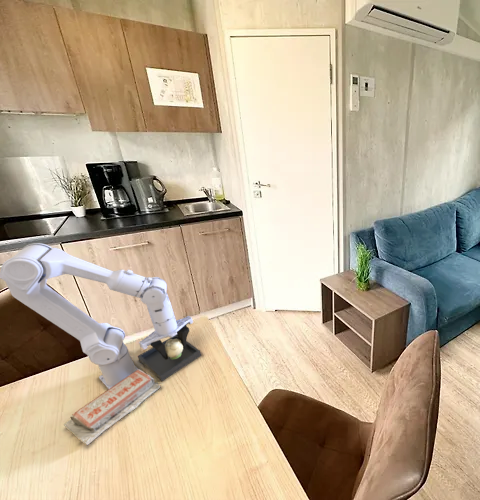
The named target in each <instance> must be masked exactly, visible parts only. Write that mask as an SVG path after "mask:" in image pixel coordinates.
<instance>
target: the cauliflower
mask: <svg viewBox="0 0 480 500" xmlns="http://www.w3.org/2000/svg"><path fill="white" fill-rule="evenodd" d="M182 350H183V344H182V343H181V340H180V339H174V340H173V339H170V340H168V341H167V342H166V343H165V351H166V353H167V356H168V357H170V359H177V358H179V357H180V356H181V352H182Z"/></svg>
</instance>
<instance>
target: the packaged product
mask: <svg viewBox="0 0 480 500" xmlns="http://www.w3.org/2000/svg"><path fill="white" fill-rule="evenodd" d="M160 388H161V384H159V383H158V382H157V383H156V382H155V378H153V377H152V375H150V374H148V373H145V372H144V371H143V370H142V369H140V368H138V370H137V371H135V372H134V373H132V374H131V375H129V376H128V377H126V378H125V379H123V380H122V381H120V382H119V383H117V384H116V385H115V386H113V387H111V388H110V389H107V390H105V391H104V392H103V393H102V394H100V395H98V396H97V397H96V398H94V399H93V400H91V401H90V402H88V403H86V404H85V405H84V406H83V407H80V408H79V409H78V410H76V411H74V413H72V414H71V415H70V420H68V421H67V422H65V423H63V426H64V427H65V428H66V430H68V431H69V432H70V433H72V434H73V435H74V437H76V438H77V440H79V441H80V442H81V443H83V444H84V445H86V446H89V445H90V444H91V443H92V442H93V441H94V440H96V438H98V437H99V436H100V435H101V434H102V433H103V432H105V431H106V430H108V429H109V428H110V427H112V426H113V425H114V424H116V423H117V422H119V420H121V419H122V418H124V417H126V416H127V415H128V414H129V413H131V412H133V411H134V410H135V409H137V408H138V406H139V405H141V404H142V403H143V402H144V401H145V400H146V399H148V397H150V396H151V395H152V394H154V393H155V392H157V391H158V390H160Z"/></svg>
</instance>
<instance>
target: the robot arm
mask: <svg viewBox="0 0 480 500" xmlns="http://www.w3.org/2000/svg"><path fill="white" fill-rule="evenodd" d="M63 275H70V276H74V277H78V278H82V279H87V280H90V281H93V282H98V283H103V284H106V286H107V287H108V289H109V290H111V291H113V292H117V293H120V294H124V295H127V296H130V297H134V298H138V299H140V302H142V303H143V304H144V305H145V306H146V307H147V309H146V310H147V312H148V314H149V318H150V320H151V323H152V327H153V329H154V331H152V332H150V334H149V335H147V336H146V337H145V338H143V339H142V340H139V341H138V344H139V347H140V348H141V349H142V350H143V351H144V350H146V349H148V347H149V346H151V348H153V347H154V348H155V349H156V350H158V351H159V353H160V354H161V355H162V357H163V358H164V359H165V360H167V359H168V356H167V353H166V351H165V344H163V343H162V342H163V341H162V340H163V339H166V338H167V339H168V338H171V337H173V336H175V335H177V336H178V339H180V340H181V343H182V344H183V348H184V349H185V348H186V341H187V340H188V339H187V338H188V335H189V333H190V328H189V327H188V325H192V324H193V323H194V320H193V317H191V316H190V315H187V316H185V317H183V318H180V319H176V316H175V312H174V309H173V306H172V302H171V301H170V298H169V295H168V293H167V290H168V285H167V282H166V280H164V279H163V278H160V277H159V276H152V277H147V276H143V275H140V274H137V273H135V272H134V271H133V270H131V269H126V270H125V269H118V270H114V271H113V270H111V269H108V268H105V267H103V266H100V265H98V264H96V263H93V262H90V261H87V260H84V259H83V258H80V257H77V256H74V255H71V254H70V253H68V252H66V251H64V250H63V249H62V248H58V247H52V246H50V245H48V244H46V243H39V242H35V243H29V244H27V245H25V246H23V247H22V248H21V249H20V250H19V251H18V252H17V253H15V254H14V255H13V256H11V257H10V258H7V260H5V261H4V262H3V263H2V264H1V268H0V279H1V280H3V282H5V284H6V286H7V289H8V290H9V293H10V294H11V296H12V297H13V298H14V299H16V300H17V301H19V302H21V303H22V304H24V305H25V306H27V307H28V308H29V309H31V310H33V311H34V312H36V313H37V314H38V315H40V316H41V317H43V318H44V319H46V320H47V321H49V322H51V323H52V324H53V325H55V326H57V327H58V328H59V329H61V330H63V331H64V332H66V333H67V334H68V335H69V336H70V335H71V337H74V338H75V339H76V340H78V341H79V342H80V346H81V350H82V352H83V354H85V355H87V357H88V359H89V361H90V362H91V363H92V364H94V365H97V366H98V368H99V371H100V373H101V375H99V376H98V378H99V381H101V382H102V384H103V385H104V386H105V387H106V388H107V390H109V389H110V388H111V387H113V386H115V385H116V384H117V383H119V382H120V381H122V380H123V379H125V378H126V377H128V376H129V375H131V374H132V373H134V372H135V371H137V370H138V369H139V368H138V367H137V366H136V365H135V363H134V361H133V358H132V356H131V353H130V351H129V348H128V346H127V345H126V344H125V343H124V340H125V338H126V333H125V330H124V329H122V328H120V327H118V326H113V325H111V324H110V323H108V322H100V323H99V322H98V321H97V320H95V318H93V317H91V316H90V315H88V314H87V313H86V312H84V311H83V310H81V309H80V308H79V307H78V306H76V305H75V304H73V303H72V302H71V301H69V300H68V299H67V298H65V297H63V296H62V295H61V294H59V293H58V292H57V291H55V290H54V289H53V288H52V287H50V286H49V285H48V284H47V282H48V280H49V279H52V278H57V277H60V276H63Z"/></svg>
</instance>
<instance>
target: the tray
mask: <svg viewBox="0 0 480 500" xmlns="http://www.w3.org/2000/svg"><path fill="white" fill-rule="evenodd" d="M170 339H173V340H174V339H178V336H177V335H175V336H173V337H168V338H167V339H166V340H164V341H162V343H163V344H165V343H166V342H167V341H168V340H170ZM201 356H202V352H201V350H200V349H199V348H197V347H196V346H194V345H193V344H192V343H190V342H188V341H187V340H186V348H185V349H184V348H183V350H182V352H181V356H180V357H179V358H177V359H170V357H168V359H167V360H165V359H164V358H163V357H162V355H161V354H160V353H159V351H158V350H156V349H155V348H154V347H151V348H150V349H148V350H145V351H144V352H143V353H140V354H138V355H137V358H138V361H139V362H140V363H141V364H142V365H143V366H144V367H146V369H148V371H150V372H151V373H152V375H154V376H155V377H156V378H157V379H158V380H159V381H160V382H164V381H165V380H166V379H169V377H171V376H172V375H174V374H175V373H177V372H178V371H180V370H182V369H183V368H184V367H186V366H187V365H189V364H191V363H192V362H195V360H197V359H198V358H200V357H201Z"/></svg>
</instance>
